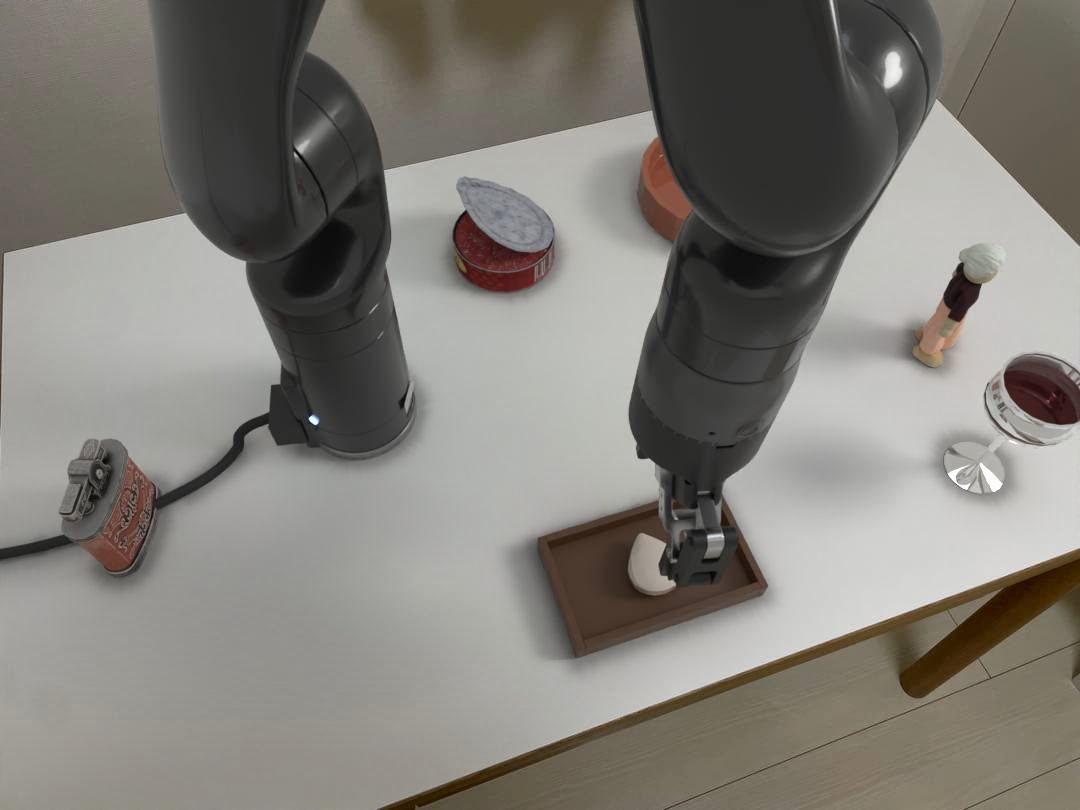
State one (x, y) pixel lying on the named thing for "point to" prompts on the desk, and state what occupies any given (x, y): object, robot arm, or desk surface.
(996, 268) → the grandmother figurine
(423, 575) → the desk surface
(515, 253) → the canned food
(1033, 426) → the wineglass
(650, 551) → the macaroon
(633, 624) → the tray
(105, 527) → the lighter
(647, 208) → the bowl
